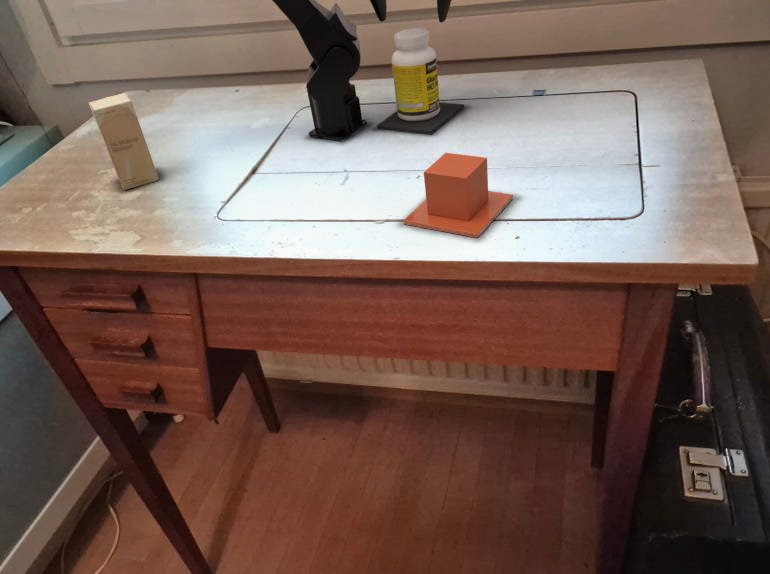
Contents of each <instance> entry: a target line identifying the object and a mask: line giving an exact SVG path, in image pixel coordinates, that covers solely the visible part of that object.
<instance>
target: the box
mask: <svg viewBox="0 0 770 574" xmlns="http://www.w3.org/2000/svg"><path fill="white" fill-rule="evenodd" d="M88 105H89V108H90V110H91V112H92V115H93V118H94V120H95V123H96V125H97V128H98V130H99V133H100V135H101V138H102V140H103V143H104V145H105V148H106V151H107V153H108V156H109V158H110V161H111V163H112V167H113V169H114V171H115V174H116V176H117V179H118V181H119V184H120V186H121V187H122V190H124V191H126V190H130V189H133V188H137V187H140V186H144V185H146V184H150V183H153V182H157V181H159V180H160V178H159V175H158V171H157V169H156V166H155V164H154V161H153V158H152V154H151V153H150V150H149V146H148V144H147V141H146V139H145V136H144V133H143V130H142V127H141V124H140V121H139V119H138V116H137V112H136V110H135V107H134V105H133V102H132V99H131V98H130V96H129V94H128V93H126V92H122V93H119V94H115V95H111V96H106V97H103V98H100V99H98V100H97V99H96V100H93V101H90V102H88Z"/></svg>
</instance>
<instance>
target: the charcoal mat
mask: <svg viewBox="0 0 770 574" xmlns="http://www.w3.org/2000/svg"><path fill="white" fill-rule="evenodd" d="M465 106H466V105H465V104H464V103H453V102H441V101H440V111H439V113H438V114H437V115H436V116H434V117H433V118H430V119H428V120H424V121H405V120H402V119H401V118H400V117H399V116H398V112H397V110H396V111H395V112H394V113H391V115H389V116H387V118H385V119H384V120H382V121H381V122H380V123H378V124H377V125H376V129H377V130H384V131H385V130H386V131H395V132H404V133H411V134H412V133H413V134H421V135H422V134H423V135H430V136H431V135H433V134H434V133H436V132H437V131H438V130H439V129H440V128H442V127H443V126H444V125H445V124H446V123H448V122H450V121H451V120H452V118H454V117H455V116H456V115H457V114H459V113H460V112H462V110H464V109H465V108H466V107H465Z"/></svg>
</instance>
